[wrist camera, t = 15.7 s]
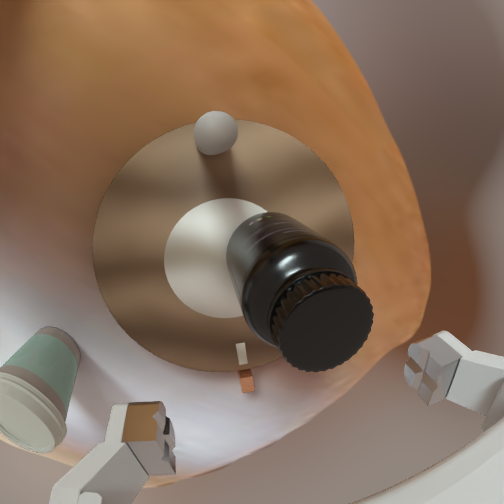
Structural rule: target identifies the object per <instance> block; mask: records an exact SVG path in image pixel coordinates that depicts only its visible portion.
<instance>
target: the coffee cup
mask: <svg viewBox="0 0 504 504" xmlns="http://www.w3.org/2000/svg"><path fill="white" fill-rule="evenodd" d="M79 362H80V352H79V349H78V347H77V345H76V343H75V342H74V340H73V339H72V338H71V337H70V336H69V335H68V334H66V333H65V332H63V331H62V330H60V329H57V328H54V327H45V328H42V329H40V330H39V331H38V332H37V333H36V334H35V335H34V336H33V337H32V338H30V339H29V340H28V341H27V342H26V343H25V344H24V345H23V346H22V347H21V348H20V349H19V350H18V351H17V352H16V353H15V354H14V355H13V356H12V357H11V358H10V359H9V360H8V361H7V362H6V363H5V364H4V365H3V366H2V367H1V368H0V433H2V434H3V435H4V436H5V437H6V438H8V439H9V440H10V441H12V442H13V443H15V444H17V445H18V446H20V447H22V448H24V449H27V450H30V451H33V452H37V453H48V452H51V451H52V450H53V449H54V448H55V447H56V446H57V445H59V444H60V443H61V442H62V440H63V438H64V437H65V435H66V431H67V429H66V424H65V421H66V416H67V411H68V407H69V402H70V398H71V394H72V390H73V385H74V382H75V378H76V374H77V370H78V366H79Z"/></svg>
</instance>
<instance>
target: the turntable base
mask: <svg viewBox="0 0 504 504" xmlns="http://www.w3.org/2000/svg"><path fill="white" fill-rule="evenodd" d="M238 375H239V379H240V384H241V388H242V392H243V393H245V392H251V391H255V390H254V383H253V377H252V373H251V369H246V370H239V371H238Z"/></svg>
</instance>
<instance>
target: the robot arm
mask: <svg viewBox="0 0 504 504" xmlns="http://www.w3.org/2000/svg"><path fill="white" fill-rule="evenodd" d="M408 355H409V356H410V358H409V359H408V361H407V362H406V364H405V369H404V372H405V378H406V380H407V382H408V384H409V385H410V386H411V387H412V388H415V389H418V395H419V397H420V398H421V399H422V400H423V401H424V402H425V403H426V405H427V406H430V405H432V404H434V403H436V402H438V401H440V400H442V399H444V398H446V399H448V400H450V401H452V402H455V403H457V404H459V405H461V406H464V407H466V408H469V409H471V410H473V411H476V412H478V413H480V414H483V415H485V416H486V417H485V419H484V421H483V423H482V424H481V429H482V430H483V431H484V432H483V433H482V434H480V435H479V436H478V437H477V438H475V439H473V440H472V441H470V442H469V443H468V444H466V445H465V446H463V447H462V448H460V449H459V450H457V451H456V452H454V453H452V454H451V455H449V456H447V457H446V458H444V459H443V460H441V461H439V462H437V463H436V464H434V465H432V466H430V467H429V468H427V469H425V470H423V471H421V472H420V473H418V474H416V475H414V476H412V477H410V478H408V479H406V480H404V481H402V482H400V483H398V484H396V485H394V486H391V487H389V488H387V489H385V490H382V491H380V492H378V493H375V494H373V495H371V496H368V497H366V498H363V499H361V500H358V501H355V502H353V503H350V504H504V357H502V356H498V355H493V354H488V353H484V352H480V351H473V352H472V351H471V350H470V349H469V348H468V347H466V346H465V345H463V344H462V343H461V342H460V341H459V340H458V339H456V338H455V337H453V335H451V334H450V333H449V332H447V331H441V332H439V333H437V334H434V335H433V336H430V337H427V338H425V339H422V340H420V341H417V342H415V343H412V344H411V346H410V347H409V350H408ZM174 447H175V435H174V429H173V426H172V423H171V420H170V419H169V418H168V417H166V409H165V407H164V404H163V402H161V401H155V402H133V403H115V404H114V405H113V406H112V409H111V413H110V418H109V422H108V426H107V431H106V435H105V440H104V442H100V443H98V444H97V445H96V446H95V447H94V448H93V449H92V450H91V451H90V452H89V453H88V454H87V455H86V456H85V457H84V458H83V459H82V460H80V461H79V462H78V463H77V464H76V465H75V466H74V467H73V468H72V469H71V470H70V471H69V472H68V473H67V474H65V475H64V476H63V477H62V478H61V479H60V480H59V481H58V482H57V483H56V484H55V485H54V486H53V489H52V493H51V497H50V502H49V504H131V503H132V502H133V500H134V499H135V497H136V496H137V494H138V493H139V491H140V490H141V489H142V487H143V486H144V484H145V483H146V481H147V480H148V478H149V476H155V475H171V474H176V466H175V456H174V454H173V452H172V450H173V448H174Z"/></svg>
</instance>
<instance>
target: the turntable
mask: <svg viewBox="0 0 504 504" xmlns="http://www.w3.org/2000/svg"><path fill="white" fill-rule="evenodd" d="M264 212H278V213H282V214H285V215H288V216H290V217H292V218H294V219H296V220H297V221H299V222H301V223H302V224H304V225H306V226H307V227H309V228H310V229H312V230H314V231H315V232H317V233H318V234H320V235H322V236H323V237H325V238H326V239H328V240H329V241H331V242H333V243H334V244H335V245H337V246H338V247H339V248H340V249H342V250H343V251H344V252H345V254H346V255H347V256H348V257H349V259H350V260H351V262H353V255H354V231H353V222H352V218H351V213H350V209H349V206H348V203H347V200H346V198H345V195H344V193H343V191H342V189H341V187H340V185H339V183H338V181H337V179H336V178H335V176H334V175H333V173H332V172H331V171H330V169H329V168H328V167H327V165H326V164H325V163H324V162H323V161H322V160H321V159H320V158H319V157H318V156H317V155H316V154H315V153H314V152H313V151H312V150H311V149H309V148H308V147H307V146H306V145H304V144H303V143H302V142H300V141H299V140H297V139H295V138H294V137H292V136H290V135H288V134H287V133H285V132H283V131H280V130H278V129H275V128H273V127H270V126H268V125H264V124H260V123H256V122H252V121H246V120H235V119H233V118H232V117H231V116H230V115H228V114H227V113H225V112H221V111H211V112H208V113H206V114H204V115H203V116H201V117H200V118H199V119H198V121H197V122H196V123H192V124H188V125H185V126H183V127H180V128H177V129H174V130H171V131H169V132H168V133H166V134H164V135H162V136H160V137H158V138H156V139H154V140H153V141H152V142H150V143H149V144H147V145H146V146H145V147H143V148H142V149H141V150H139V151H138V152H137V153H136V154H135V155H134V156H133V157H132V158H131V159H130V160H129V161H128V162H127V163H126V164H125V165H124V166H123V167H122V169H121V170H120V171H119V173H118V174H117V175H116V177H115V178H114V179H113V181H112V183H111V184H110V186H109V188H108V190H107V192H106V193H105V195H104V197H103V200H102V203H101V205H100V208H99V211H98V213H97V218H96V222H95V227H94V233H93V247H92V250H93V264H94V270H95V275H96V279H97V283H98V286H99V289H100V292H101V294H102V297H103V299H104V301H105V303H106V305H107V307H108V309H109V311H110V312H111V314H112V315H113V317H114V318H115V319H116V321H117V322H118V324H119V325H120V326H121V327H122V328H123V329H124V331H125V332H126V333H127V334H128V335H129V336H130V337H131V338H132V339H134V340H135V341H136V342H137V343H138V344H140V345H141V346H142V347H143V348H145V349H146V350H148V351H149V352H151V353H153V354H154V355H156V356H158V357H160V358H162V359H164V360H166V361H168V362H171V363H173V364H176V365H179V366H182V367H186V368H190V369H195V370H200V371H210V372H231V371H239V370H246V369H250V368H254V367H258V366H261V365H264V364H267V363H270V362H272V361H275V360H277V359H279V358H281V357H283V356H282V355H281V353H280V351H279V349H278V348H276V347H274V346H271V345H269V344H267V343H265V342H263V341H262V340H261V339H259V338H258V337H257V336H256V335H255V334H254V333H253V332H252V331H251V329H250V328H249V326H248V325H247V323H246V321H245V319H244V316H243V313H242V310H241V308H240V305H239V302H238V299H237V296H236V293H235V290H234V287H233V284H232V281H231V278H230V275H229V271H228V268H227V263H226V250H227V245H228V242H229V240H230V238H231V236H232V234H233V232H234V231H235V230H236V228H237V227H238V226H239V225H240V224H241V223H242V222H244V221H245V220H247V219H248V218H250V217H252V216H254V215H257V214H260V213H264Z"/></svg>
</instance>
